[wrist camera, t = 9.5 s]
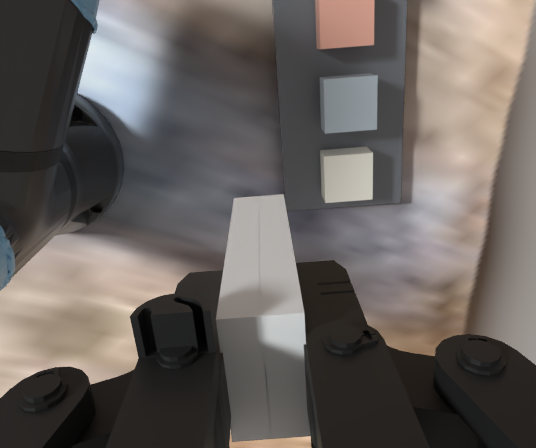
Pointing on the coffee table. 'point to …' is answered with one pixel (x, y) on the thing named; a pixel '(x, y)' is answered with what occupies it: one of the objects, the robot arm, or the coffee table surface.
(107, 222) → the coffee table surface
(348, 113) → the key slate
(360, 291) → the coffee table surface
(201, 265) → the coffee table surface
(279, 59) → the keypad base
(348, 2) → the key coral
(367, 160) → the key ivory
